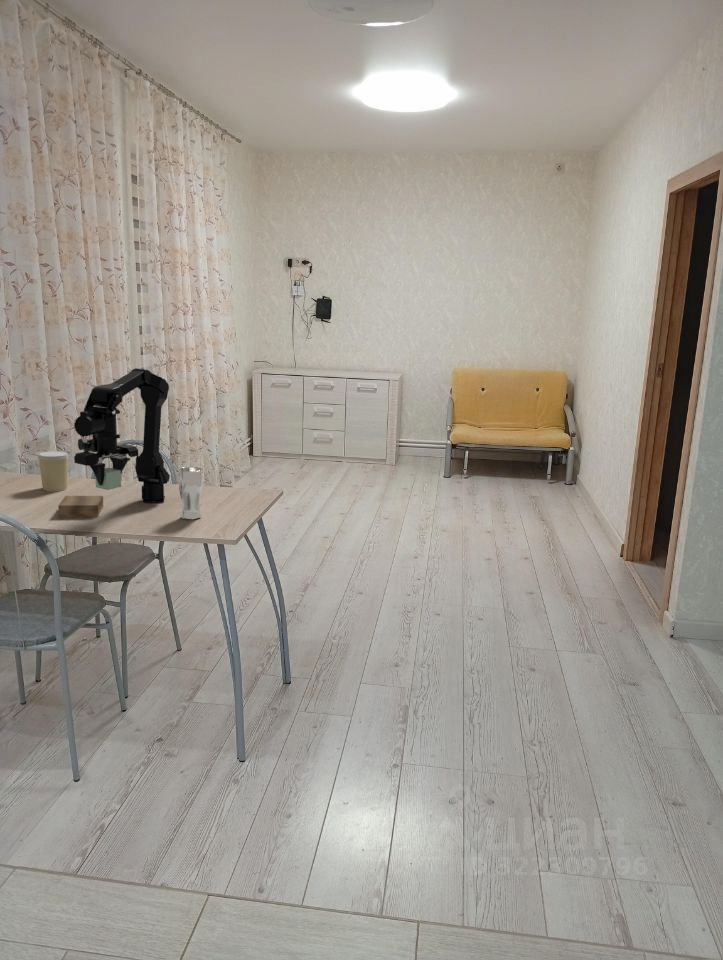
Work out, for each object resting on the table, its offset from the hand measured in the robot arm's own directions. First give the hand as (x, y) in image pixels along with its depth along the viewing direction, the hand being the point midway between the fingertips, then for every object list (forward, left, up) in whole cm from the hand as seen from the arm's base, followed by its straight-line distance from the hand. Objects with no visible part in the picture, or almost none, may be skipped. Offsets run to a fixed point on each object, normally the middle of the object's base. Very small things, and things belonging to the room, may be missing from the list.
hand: (108, 483), depth 220 cm
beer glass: (-24, -1, -11) cm, 26 cm away
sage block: (0, 0, -1) cm, 1 cm away
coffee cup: (+21, -37, -11) cm, 44 cm away
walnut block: (+9, -8, -11) cm, 16 cm away
